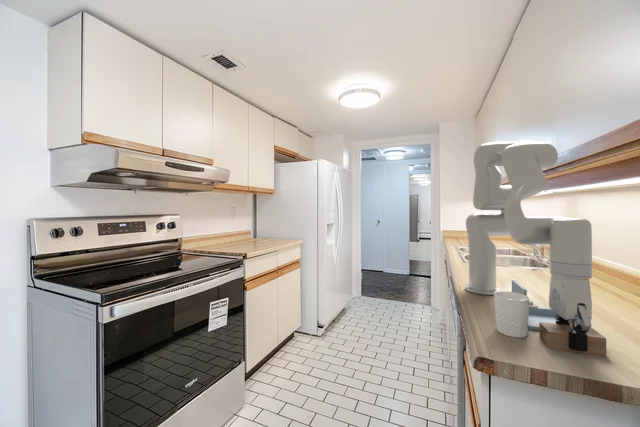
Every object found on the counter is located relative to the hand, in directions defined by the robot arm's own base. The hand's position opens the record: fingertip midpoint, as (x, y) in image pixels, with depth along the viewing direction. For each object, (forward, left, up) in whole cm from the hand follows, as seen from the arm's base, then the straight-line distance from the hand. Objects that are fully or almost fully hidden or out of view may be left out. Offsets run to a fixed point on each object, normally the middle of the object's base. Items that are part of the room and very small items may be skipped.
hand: (570, 342), depth 67 cm
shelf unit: (-13, 0, -1) cm, 13 cm away
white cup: (-4, -11, -1) cm, 12 cm away
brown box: (0, 0, -1) cm, 1 cm away
